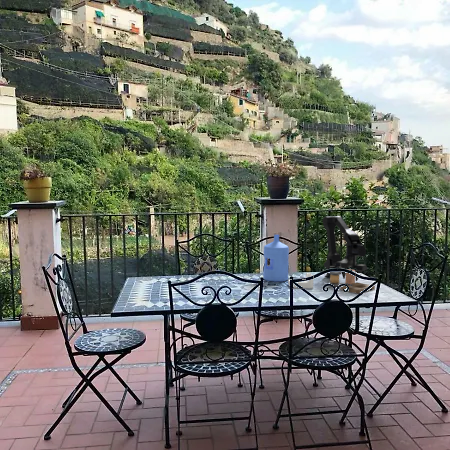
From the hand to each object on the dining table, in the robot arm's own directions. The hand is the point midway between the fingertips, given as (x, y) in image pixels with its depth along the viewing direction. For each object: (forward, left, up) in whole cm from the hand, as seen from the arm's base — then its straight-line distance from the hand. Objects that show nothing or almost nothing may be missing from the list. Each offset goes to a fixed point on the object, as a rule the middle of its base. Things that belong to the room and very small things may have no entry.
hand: (350, 279), depth 260 cm
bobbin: (-3, -12, -2) cm, 13 cm away
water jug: (-36, -27, -2) cm, 45 cm away
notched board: (+12, -11, -2) cm, 16 cm away
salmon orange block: (0, 0, -2) cm, 2 cm away
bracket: (-14, -31, -3) cm, 34 cm away
